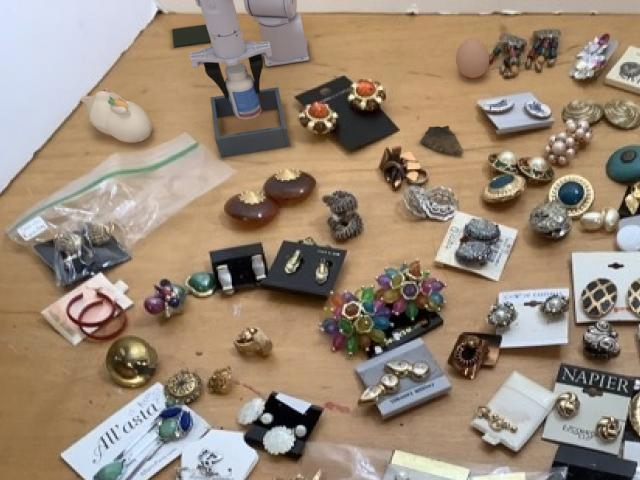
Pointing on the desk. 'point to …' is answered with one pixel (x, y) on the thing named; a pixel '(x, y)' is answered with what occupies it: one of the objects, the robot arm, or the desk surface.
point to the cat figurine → (117, 116)
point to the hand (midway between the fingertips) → (242, 92)
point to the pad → (190, 36)
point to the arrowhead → (442, 140)
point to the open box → (250, 139)
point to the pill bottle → (242, 92)
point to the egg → (472, 58)
